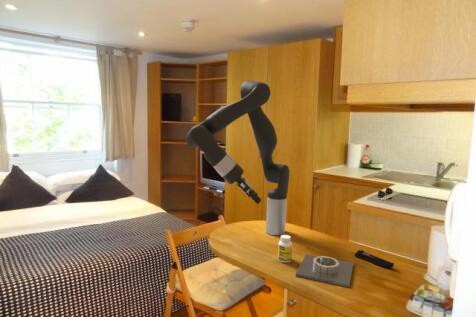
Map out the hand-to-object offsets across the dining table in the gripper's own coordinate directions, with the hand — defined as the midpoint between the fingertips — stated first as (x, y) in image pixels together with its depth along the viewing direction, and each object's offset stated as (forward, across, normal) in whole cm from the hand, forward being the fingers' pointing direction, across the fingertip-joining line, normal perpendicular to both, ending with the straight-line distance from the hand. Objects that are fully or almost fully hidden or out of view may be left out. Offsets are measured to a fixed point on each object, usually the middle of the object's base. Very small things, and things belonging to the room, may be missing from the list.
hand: (257, 199), depth 125 cm
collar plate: (+35, -9, 0) cm, 36 cm away
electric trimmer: (+50, -3, -15) cm, 53 cm away
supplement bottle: (+26, 0, +9) cm, 27 cm away
